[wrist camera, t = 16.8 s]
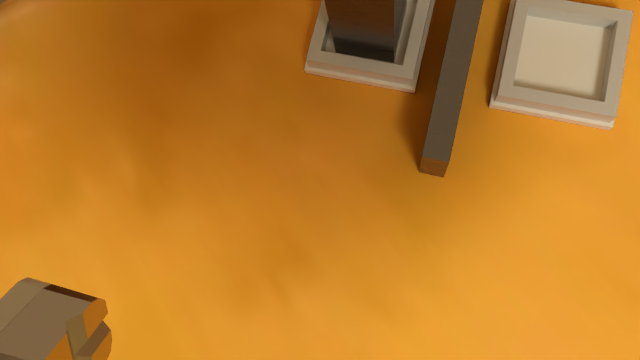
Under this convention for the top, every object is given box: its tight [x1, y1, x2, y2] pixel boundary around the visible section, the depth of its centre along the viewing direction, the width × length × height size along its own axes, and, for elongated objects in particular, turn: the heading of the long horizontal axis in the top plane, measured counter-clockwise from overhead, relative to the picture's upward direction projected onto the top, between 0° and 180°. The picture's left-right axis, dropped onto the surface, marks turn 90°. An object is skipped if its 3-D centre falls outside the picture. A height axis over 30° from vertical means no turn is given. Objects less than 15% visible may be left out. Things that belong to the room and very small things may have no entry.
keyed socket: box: [304, 0, 436, 93], centre depth 40 cm, size 8×8×2 cm
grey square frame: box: [489, 0, 633, 130], centre depth 38 cm, size 8×8×2 cm
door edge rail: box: [419, 0, 483, 177], centre depth 38 cm, size 2×18×4 cm, turn 166°
